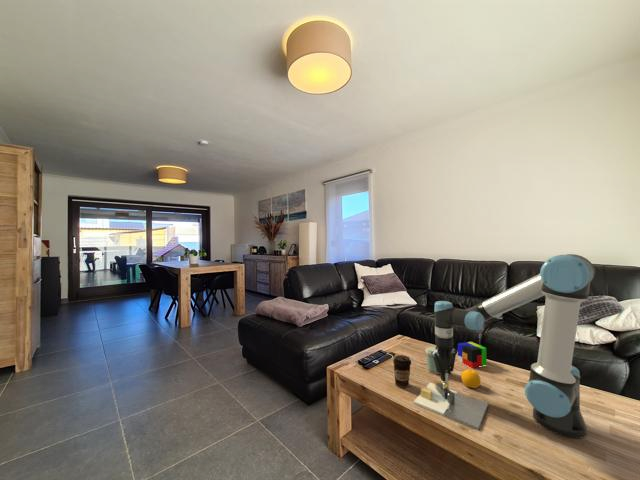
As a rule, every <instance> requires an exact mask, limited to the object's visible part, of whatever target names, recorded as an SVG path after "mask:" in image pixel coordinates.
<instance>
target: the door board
mask: <svg viewBox="0 0 640 480" xmlns="http://www.w3.org/2000/svg"><path fill="white" fill-rule="evenodd" d="M449 390H450V391H451V392H452V393H454V394H455V395H456V393H457V392H458V391H456V390H452V389H449ZM449 404H450V403H448V402H447V399H445V398H444V397H443V396H442V395H441V394H440V393H439V392H438V391H437V390H436V389H435V383H433V382H429V384H427V386H425V387H422V388H421V389H420V394H419V395H418V396H417V397H416V398H415V399H414V400H413V405H416V406H418V407H420V408H422V409H426V410H427V411H431V412H432V413H435V414H437V415H439V416H440V415H441V416H442V417H444V412H445V411H446V409H447V408H448V406H449Z"/></svg>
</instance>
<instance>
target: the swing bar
mask: <svg viewBox="0 0 640 480" xmlns="http://www.w3.org/2000/svg"><path fill="white" fill-rule="evenodd" d="M434 384H435V389H436V390H437V391H438V392H439V393H440V394H441V395H442V396H443V397H444V398H445V399H447V392H451V391H450V390H451V389H450V390H449V389H448V384H447V383H446V382H443V383H442V380H440V381H434Z"/></svg>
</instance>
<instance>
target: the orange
mask: <svg viewBox="0 0 640 480" xmlns="http://www.w3.org/2000/svg"><path fill="white" fill-rule="evenodd" d="M461 381H462V383H463V385H465V386H466V387H468V388H470V389H471V388H472V389H477V388H479V386H481V383H482V381H481V377H480V375H479V374H478V373H477V372H476V371H475V370H473V369H471V368H470V369H465V370H463V371H462V372H461Z"/></svg>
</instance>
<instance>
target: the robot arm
mask: <svg viewBox="0 0 640 480" xmlns="http://www.w3.org/2000/svg"><path fill="white" fill-rule="evenodd" d="M595 275H596V269H595V267H594V265H593V263H592V262H591V261H590V260H589V259H588V258H586V257H584V256H582V255H579V254H574V253H573V254H571V253H569V254H558V255H555V256H552V257H550V258H548V259H547V260H545V262H544V263H543V264H542V265H541V267H540V272H539V273H538V274H537V275H534V276H531V278H528V279H526V280H523V281H522V282H520V283H518V284H516V285H513V286H512V287H510V288H508V289H506V290H504V291H502V292H500V293H498V294H496V295H494V296H492V297H490V298H488V299H486V300H484V301H482V302H480V303H477V304H476V305H474V306H472V307H471V306H470V307H468V308H466V309H465V308H464V309H463V308H457V307H454V306H453V302H450V301H447V300H438V301H435V302H434V309H433V310H434V311H433V312H434V340H435V341H434V343H435V344H436V345H435V347H436V350H435V351H434V352H431V354H432V356H433V358H434V362H435V366H436V370H437V372H439V374H440V381H441V382H442V383H443V382H446V383H447V384H448V389H449V388H450V387H449V384H450V383H449V381H450V376H451V375H452V372H454V368H455V361H456V358H457V357H456V356H457V355H458V349H455V348H454V327H455V326H456V327H460V328H463V329H467V330H471V331H481V330H483V327H484V324H485V322H488V321H489V320H491V319H494V318H495V317H498V316H500V315H502V314H505V313H508V312H509V311H512V310H514V309H516V308H519V307H521V306H524V305H526V304H528V303H531V302H532V301H535V300H537V299H539V298H542V297H543V296H545V303H544V308H543V309H544V310H543V317H542V325H541V332H540V338H539V346H538V347H539V348H538V353H537V354H538V355H537V360H536V361H537V362H534V363H532V364H531V365H530V371H529V379H528V382H527V383H525V387H524V395H525V398H526V399H527V402H528V403H530V406H532V408H533V409H532V418H533V419H534V421H535V422H536V423H537V424H538V425H540V426H541V427H543V428H544V429H546V430H548V431H550V432H552V433H554V434H557V435H559V436H563V437H566V438H571V439H582V438H581V437H584V436H586V437H587V434H588V428H587V424H586V422H585V419H584V416H583V414H582V413H581V412H582V411H581V408H580V407H581V406H580V405H581V401H580V400H581V399H580V398H581V397H580V396H581V393H580V389H581V387H580V382H581V381H580V379H581V375H580V370H579V369H578V368H577V367H576V366H574V365H573V359H574V358H573V357H574V351H575V345H576V344H575V343H576V337H577V336H576V335H577V329H578V322H579V315H580V309H581V304H582V303H583V302H586V301H587V300H589V293H590V288H591V287H590V286H591V282H592V280H593V279H594V278H595ZM438 354H439V355H438ZM438 356H439V357H438ZM584 438H585V437H584Z"/></svg>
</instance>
